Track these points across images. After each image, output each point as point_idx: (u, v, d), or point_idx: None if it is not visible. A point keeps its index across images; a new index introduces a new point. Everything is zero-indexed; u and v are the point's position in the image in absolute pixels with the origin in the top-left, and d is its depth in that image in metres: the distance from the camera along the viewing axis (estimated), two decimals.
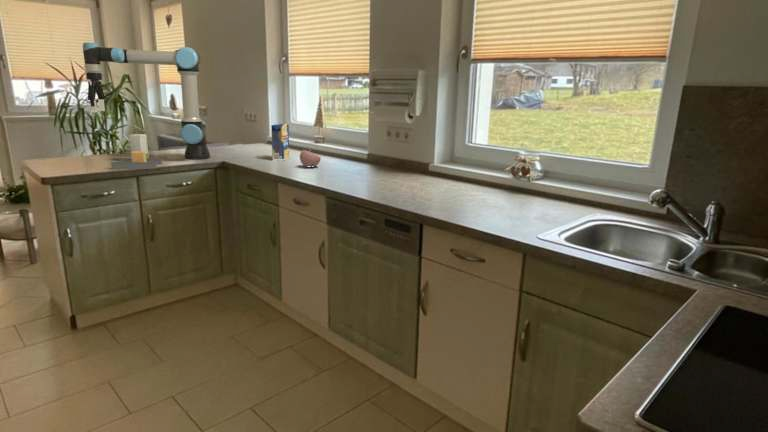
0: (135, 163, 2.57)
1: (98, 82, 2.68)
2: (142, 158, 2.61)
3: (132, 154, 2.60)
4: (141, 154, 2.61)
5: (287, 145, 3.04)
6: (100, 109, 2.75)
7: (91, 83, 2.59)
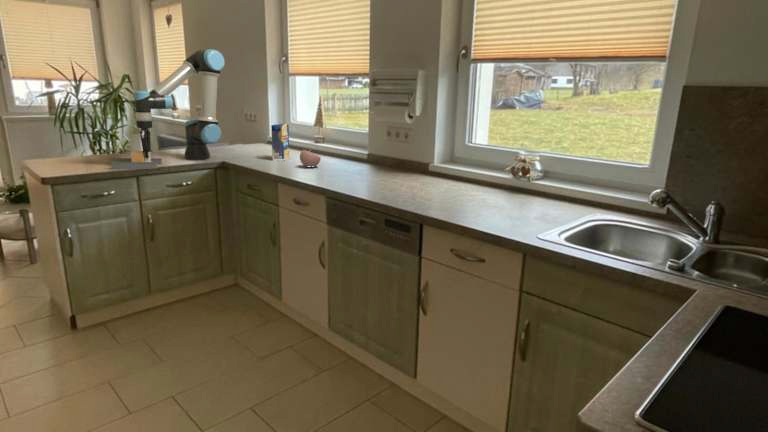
0: (135, 163, 2.57)
1: (148, 129, 2.64)
2: (142, 158, 2.61)
3: (132, 154, 2.60)
4: (141, 154, 2.61)
5: (287, 145, 3.04)
6: None
7: (143, 136, 2.56)
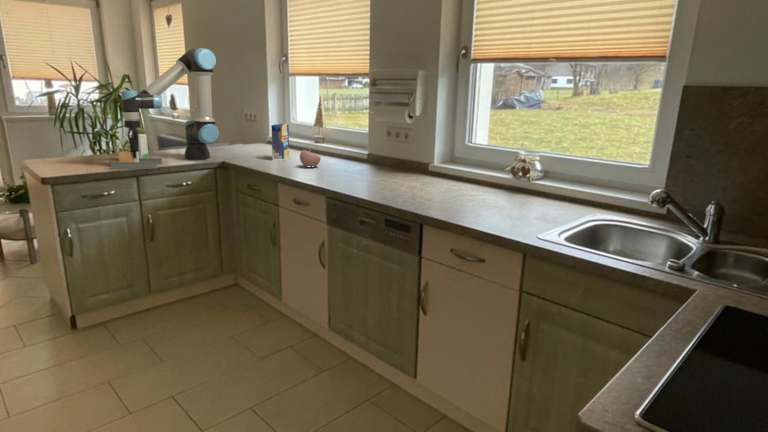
0: (135, 163, 2.57)
1: (136, 129, 2.62)
2: (130, 158, 2.60)
3: (119, 154, 2.58)
4: (129, 154, 2.59)
5: (287, 145, 3.04)
6: None
7: (131, 136, 2.55)
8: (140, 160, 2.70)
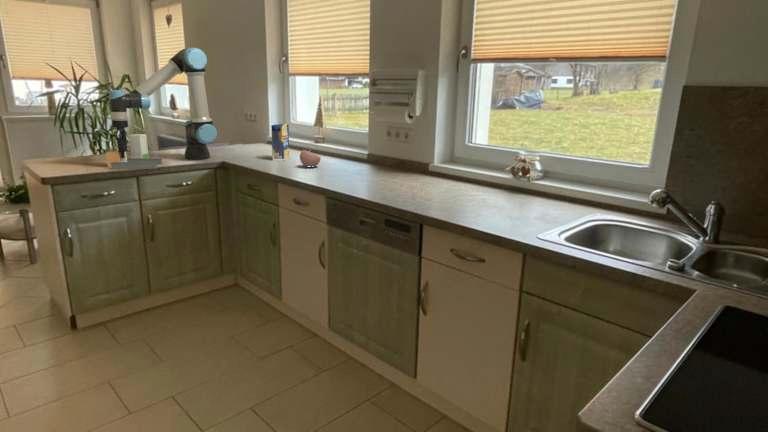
0: (135, 163, 2.57)
1: (124, 128, 2.61)
2: (117, 158, 2.59)
3: (107, 154, 2.57)
4: (116, 154, 2.58)
5: (287, 145, 3.04)
6: None
7: (119, 136, 2.53)
8: (140, 160, 2.70)
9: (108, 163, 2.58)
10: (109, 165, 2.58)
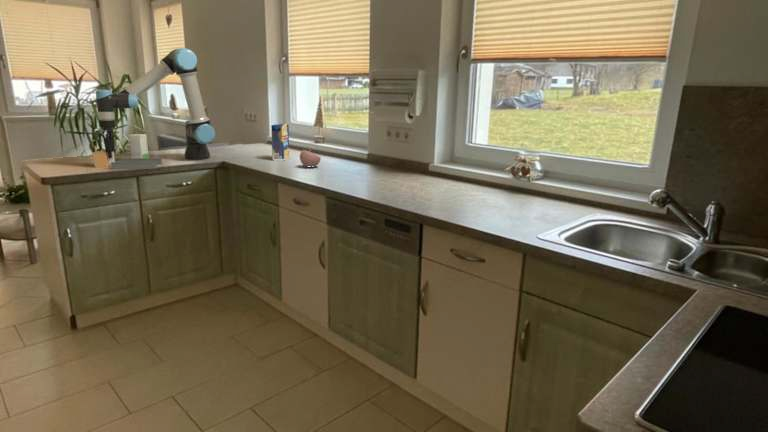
0: (135, 163, 2.57)
1: (111, 128, 2.59)
2: (105, 158, 2.57)
3: (94, 154, 2.55)
4: (104, 154, 2.56)
5: (287, 145, 3.04)
6: None
7: (105, 136, 2.52)
8: (140, 160, 2.70)
9: (95, 163, 2.57)
10: (96, 165, 2.57)
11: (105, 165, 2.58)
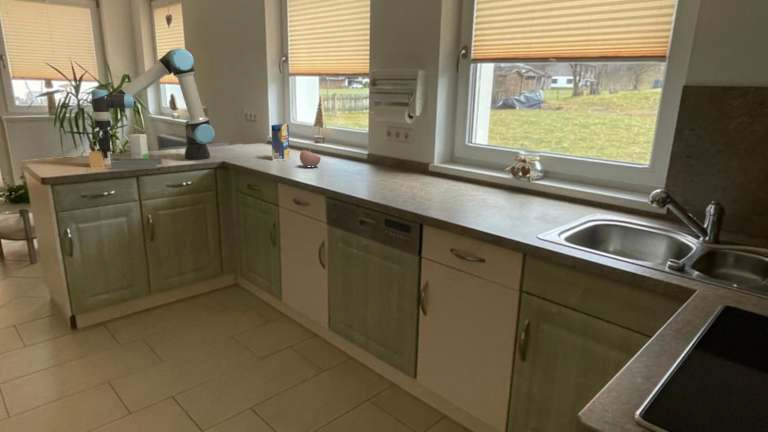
0: (135, 163, 2.57)
1: (107, 128, 2.59)
2: (100, 158, 2.57)
3: (90, 154, 2.55)
4: (99, 154, 2.56)
5: (287, 145, 3.04)
6: None
7: (101, 136, 2.51)
8: (140, 160, 2.70)
9: (91, 163, 2.56)
10: (92, 165, 2.57)
11: (101, 165, 2.58)
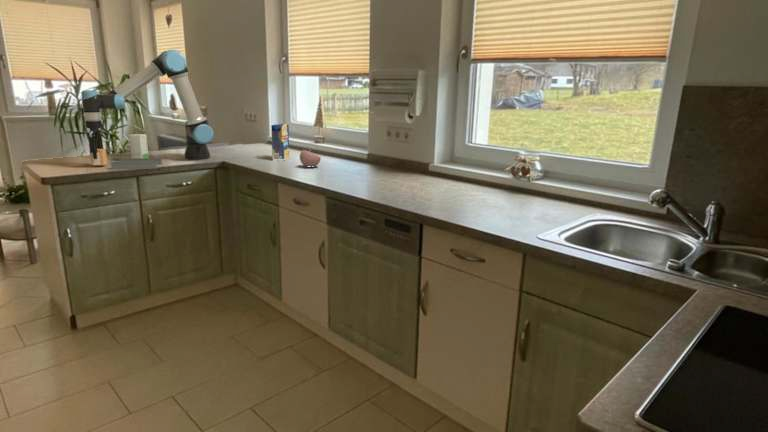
0: (135, 163, 2.57)
1: (98, 129, 2.58)
2: (101, 156, 2.57)
3: None
4: (100, 151, 2.56)
5: (287, 145, 3.04)
6: None
7: (91, 135, 2.50)
8: (140, 160, 2.70)
9: (92, 161, 2.56)
10: (93, 163, 2.57)
11: (102, 163, 2.58)
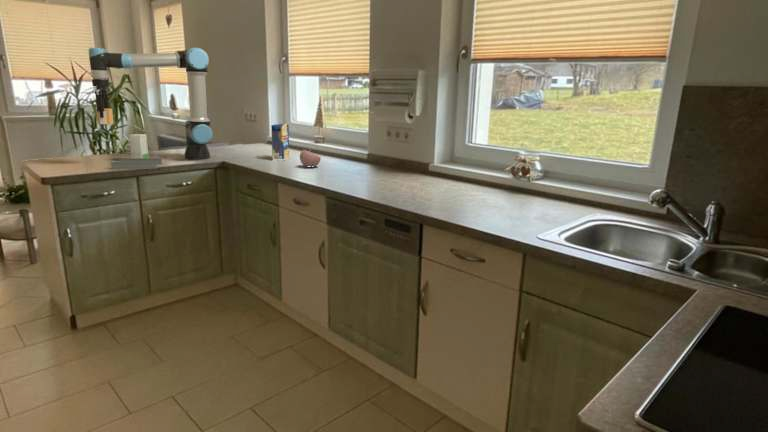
0: (135, 163, 2.57)
1: None
2: (108, 115, 2.56)
3: None
4: (106, 110, 2.55)
5: (287, 145, 3.04)
6: None
7: (98, 93, 2.49)
8: (140, 160, 2.70)
9: (98, 120, 2.55)
10: (99, 122, 2.56)
11: (108, 122, 2.57)
